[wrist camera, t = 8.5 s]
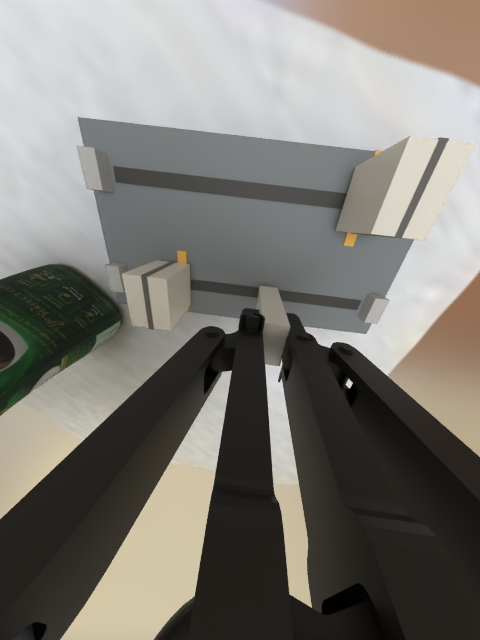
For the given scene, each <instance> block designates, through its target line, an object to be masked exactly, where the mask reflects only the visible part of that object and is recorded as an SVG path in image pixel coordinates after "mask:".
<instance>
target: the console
mask: <svg viewBox="0 0 480 640" xmlns="http://www.w3.org/2000/svg"><path fill="white" fill-rule="evenodd" d="M78 121H79V126H80V130H81V135H82V139H83V144H84V147H83V146H77V149H78V154H79V158H80V162H81V166H82V171H83V175H84V179H85V183H86V188H87V189H92V190H94V194H95V198H96V203H97V207H98V212H99V216H100V221H101V225H102V230H103V234H104V239H105V243H106V248H107V252H108V257H109V261H110V264H107V265H105V268H106V273H107V277H108V281H109V285H110V289H111V291H115V292H116V293H117V297H118V302H119V303H122V304H128V303H127V298H126V293H125V288H124V283H123V278H122V273H125V272H127V271H130V270H133V269H135V268H138V267H140V266H143V265H146V264H148V263H151V262H154V261H156V260H159V261H167V262H171V261H173V262H176V263H184V264H190V293H191V305H190V307H189V308H188V309H187V311H186V312H194V313H202V314H210V315H218V316H226V317H234V318H240V315H241V313H242V310H243V309H244V308H251V309H256V306H257V300H258V293H259V287H260V286H267V287H275V288H278V291H279V294H280V297H281V300H282V303H283V306H284V309H285V312H286V313H294V314H296V315H297V316H298V317H299V318H300V320H301V323H302V325H303V326H306V327H314V328H322V329H331V330H339V331H347V332H355V333H363V334H366V333H367V331H368V329H369V327H370V326H371V324H372V323H373V324H377V323H378V321H379V319H380V318H381V316H382V314H383V312H384V310H385V308H386V306H387V304H388V302H389V300H388V299H387V298H385V296H386V294H387V292H388V290H389V288H390V286H391V284H392V282H393V280H394V278H395V276H396V274H397V272H398V270H399V268H400V266H401V264H402V262H403V260H404V258H405V256H406V254H407V252H408V251H409V249H410V247H411V245H412V243H413V241H414V239H406V238H402V239H399V238H389V237H380V236H370V235H361V234H352V233H351V232H342V231H335V230H336V227H337V224H338V221H339V218H340V214H341V211H342V208H343V205H344V202H345V198H346V195H347V192H348V189H349V186H350V183H351V179H352V176H353V173H354V170H355V167H356V166H357V165H359V164H361V163H363V162H365V161H366V160H368V159H370V158H372V157H374V156H375V155H377V154H379V153H381V152H383V151H367V150H358V149H349V148H341V147H332V146H323V145H315V144H306V143H297V142H289V141H280V140H271V139H262V138H254V137H245V136H236V135H228V134H219V133H210V132H202V131H193V130H184V129H176V128H167V127H158V126H149V125H141V124H132V123H123V122H115V121H106V120H97V119H89V118H80V117H78Z"/></svg>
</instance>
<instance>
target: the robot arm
mask: <svg viewBox="0 0 480 640" xmlns="http://www.w3.org/2000/svg"><path fill="white" fill-rule="evenodd" d="M281 359H282V363H283V365H282V368H281V372H280V375H279V379H278V382H280V380H281V378H282V382H283V388H284V394H285V400H286V407H287V413H288V419H289V425H290V431H291V437H292V443H293V449H294V455H295V461H296V468H297V474H298V480H299V486H300V492H301V498H302V504H303V510H304V516H305V522H306V528H307V535H308V558H307V571H308V581H309V589H310V596H311V603H312V608H311V607H309V606H308V605H306V604H304V603H303V602H301V601H299V600H298V599H296V598H294V597H293V596H291V595H289V587H288V576H287V565H286V555H285V543H284V532H283V523H282V515H281V511H280V506H279V502H278V501H277V499H276V497H275V494H274V488H273V475H272V460H271V445H270V431H269V416H268V401H267V387H266V372H265V364H269V365H276V366H280V363H281ZM231 370H232V374H231V380H230V386H229V393H228V399H227V405H226V412H225V418H224V424H223V430H222V437H221V443H220V449H219V456H218V462H217V468H216V475H215V481H214V486H213V491H212V495H211V501H210V507H209V512H208V519H207V524H206V530H205V537H204V543H203V549H202V555H201V561H200V568H199V574H198V580H197V587H196V592H195V596H194V597H193V598H192V599H191V600H189V601H188V602H187V603H185V604H184V605H183V606H182V607H181V608H180V609H179V610H178V611H177V612H176V613H175V614H174V615H173V616H172V617H171V618H170V620H169V621H168V622H167V623H166V624H165V626H164V627H163V628H162V630H161V631H160V632H159V633H158V635H157V636H156V637H155V639H154V640H480V457H479V456H478V455H477V454H475V453H474V452H473V451H472V450H471V449H470V448H469V447H467V446H466V445H465V444H464V443H463V442H462V441H461V440H460V439H458V438H457V437H456V436H455V435H454V434H453V433H452V432H450V431H449V430H448V429H447V428H446V427H445V426H443V425H442V424H441V423H440V422H439V421H438V420H437V419H436V418H434V417H433V416H432V415H431V414H430V413H429V412H428V411H426V410H425V409H424V408H423V407H422V406H421V405H419V404H418V403H417V402H416V401H415V400H414V399H413V398H411V397H410V396H409V395H408V394H407V393H406V392H405V391H404V390H402V389H401V388H400V387H399V386H398V385H397V384H396V383H394V382H393V381H392V380H391V379H390V378H389V377H388V376H386V375H385V374H384V373H383V372H382V371H381V370H380V369H379V368H377V367H376V366H375V365H374V364H373V363H372V362H371V361H369V360H368V359H367V358H366V357H365V356H364V355H363V354H361V353H360V352H359V351H358V350H357V349H355V348H354V347H352V346H350V345H349V344H345V343H340V342H336V343H333V344H332V346H331V348H328V347H325V346H321V345H319V344H318V343H317V341H316V339H315V338H314V336H312V335H311V334H309V333H307V332H306V331H305V329H304V327H303V325H302V323H301V320H300V318H299V317H298V316H297V315H296V314H294V313H286V312H285V309H284V306H283V303H282V300H281V297H280V294H279V291H278V288H275V287H267V286H260V287H259V293H258V300H257V306H256V309H251V308H244V309H243V310H242V313H241V315H240V322H239V330H238V331H236V332H235V333H231V334H225V333H224V331H223V330H222V329H221V328H218V327H214V326H209V327H205V328H203V329H201V330H200V331H199V332H198V333H197V334H195V335H194V336H193V337H192V338H191V339H190V340H189V341H188V342H187V343H186V344H185V345H184V346H183V347H182V348H181V349H180V350H179V351H178V352H176V353H175V354H174V355H173V356H172V357H171V358H170V359H169V360H168V361H167V362H166V363H165V364H164V365H163V366H162V367H161V368H160V369H159V370H157V371H156V372H155V373H154V374H153V375H152V376H151V377H150V378H149V379H148V380H147V381H146V382H145V383H144V384H143V385H142V386H141V387H140V388H138V389H137V390H136V391H135V392H134V393H133V394H132V395H131V396H130V397H129V398H128V399H127V400H126V401H125V402H124V403H123V404H122V405H121V406H119V407H118V408H117V409H116V410H115V411H114V412H113V413H112V414H111V415H110V416H109V417H108V418H107V419H106V420H105V421H104V422H103V423H102V424H100V425H99V426H98V427H97V428H96V429H95V430H94V431H93V432H92V433H91V434H90V435H89V436H88V437H87V438H86V439H85V440H84V441H83V442H82V443H80V445H78V446H77V447H76V448H75V449H74V450H73V451H72V452H71V453H70V454H69V455H68V456H67V457H66V458H65V459H64V460H62V462H60V463H59V464H58V465H57V466H56V467H55V468H54V469H53V470H52V471H51V472H50V473H49V474H48V475H47V476H46V477H45V478H43V479H42V480H41V481H40V482H39V483H38V484H37V485H36V486H35V487H34V488H33V489H32V490H31V491H30V492H29V493H28V494H27V495H26V496H25V497H23V498H22V499H21V500H20V501H19V502H18V503H17V504H16V505H15V506H14V507H13V508H12V509H11V510H10V511H9V512H8V513H7V514H6V515H4V516H3V517H2V518H1V519H0V640H60V639H61V638H62V636H63V635H64V633H65V632H66V631H67V629H68V628H69V626H70V625H71V623H72V622H73V621H74V619H75V618H76V616H77V615H78V614H79V612H80V611H81V609H82V608H83V607H84V605H85V604H86V602H87V601H88V599H89V597H90V596H91V594H92V593H93V591H94V589H95V588H96V586H97V585H98V583H99V581H100V580H101V578H102V577H103V575H104V573H105V572H106V570H107V568H108V567H109V565H110V564H111V562H112V560H113V558H114V557H115V555H116V553H117V552H118V550H119V548H120V547H121V545H122V543H123V541H124V540H125V538H126V536H127V535H128V533H129V531H130V529H131V528H132V526H133V524H134V522H135V521H136V519H137V518H138V516H139V514H140V512H141V511H142V509H143V507H144V505H145V504H146V502H147V500H148V499H149V497H150V495H151V494H152V492H153V490H154V488H155V487H156V485H157V483H158V482H159V480H160V478H161V476H162V475H163V473H164V471H165V470H166V468H167V466H168V465H169V463H170V461H171V459H172V458H173V456H174V454H175V453H176V451H177V449H178V448H179V446H180V444H181V442H182V441H183V439H184V437H185V436H186V434H187V432H188V430H189V429H190V427H191V425H192V424H193V422H194V420H195V419H196V417H197V415H198V413H199V412H200V410H201V408H202V407H203V405H204V403H205V401H206V400H207V398H208V396H209V395H210V393H211V391H212V390H213V388H214V386H215V384H216V383H217V381H218V379H219V378H220V376H221V373H222V372H223V371H231ZM348 378H349V379H350V380H351V381H352V382H353V384H352V386H351V388H350V389H349V388H348V387H347V386H346V385H345V384H346V382H347V380H348Z"/></svg>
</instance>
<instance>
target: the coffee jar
mask: <svg viewBox="0 0 480 640" xmlns="http://www.w3.org/2000/svg"><path fill="white" fill-rule="evenodd" d="M120 324H121V317H120V313H119V311H118V309H117V308H116V306H115V305H114V304H113V303H112V302H111V301H110V300H109V299H108V298H107V297H106V296H105V295H104V294H103V293H102V292H101V291H99V290H98V289H97V288H96V287H95V286H93V285H92V284H91V283H90V282H88V281H87V280H86V279H84V278H83V277H82V276H80V275H79V274H77V273H76V272H74V271H73V270H71V269H69V268H67V267H64V266H60V265H54V264H52V265H46V266H41V267H38V268H34V269H31V270H27V271H24V272H21V273H18V274H15V275H12V276H9V277H6V278H3V279H1V280H0V416H1V415H2V414H3V413H4V412H6V411H7V410H8V409H9V408H11V407H12V406H13V405H14V404H16V403H17V402H18V401H20V400H21V399H22V398H24V397H25V396H26V395H28V394H29V393H30V392H32V391H33V390H35V389H36V388H37V387H39V386H40V385H42V384H43V383H44V382H46V381H47V380H49V379H50V378H52V377H53V376H55V375H56V374H58V373H59V372H61V371H62V370H64V369H65V368H67V367H68V366H70V365H72V364H73V363H75V362H76V361H78V360H79V359H81V358H82V357H84V356H86V355H87V354H89V353H90V352H92V351H93V350H95V349H96V348H97V347H99V346H100V345H102V344H103V343H104V342H106V341H107V340H108V339H109V338H111V337H112V336H113V335H114V334H115V333H116V331H117V330H118V328H119V327H120Z"/></svg>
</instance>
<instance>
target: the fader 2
mask: <svg viewBox="0 0 480 640" xmlns="http://www.w3.org/2000/svg"><path fill="white" fill-rule="evenodd" d="M448 140H449V139H448V138H438V139H430V138H421V137H412V136H409V137H408V138H406V139H404V140H402V141H400V142H399V143H397V144H395V145H393V146H391V147H390V148H388V149H386V150H384V151H383V152H381V153H379V154H377V155H375V156H374V157H372V158H370V159H368V160H366V161H365V162H363V163H361V164H359V165H357V166H356V167H355V170H354V173H353V176H352V179H351V183H350V186H349V189H348V192H347V195H346V198H345V202H344V205H343V208H342V211H341V214H340V218H339V221H338V224H337V227H336V230H335V231H342V232H351V233H352V234H361V235H370V236H380V237H389V238H399V239H402V238H406V239H416V240H426V238H427V236H428V235H429V233H430V231H431V229H432V227H433V225H434V223H435V222H436V220H437V218H438V216H439V214H440V212H441V210H442V208H443V207H444V205H445V203H446V201H447V199H448V197H449V195H450V193H451V192H452V190H453V188H454V186H455V184H456V182H457V180H458V178H459V177H460V175H461V173H462V171H463V169H464V167H465V165H466V164H467V162H468V160H469V158H470V156H471V154H472V152H473V150H474V149H475V147H476V145H477V144H473V143H465V142H456V141H448Z"/></svg>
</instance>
